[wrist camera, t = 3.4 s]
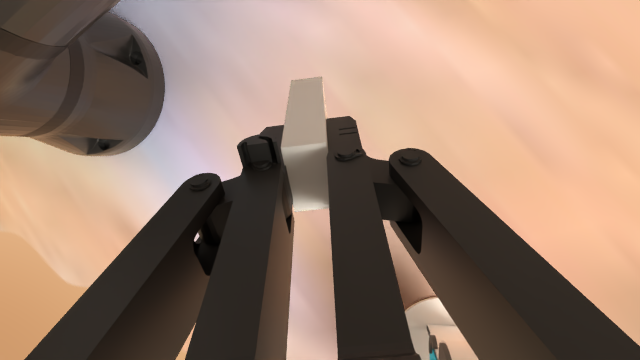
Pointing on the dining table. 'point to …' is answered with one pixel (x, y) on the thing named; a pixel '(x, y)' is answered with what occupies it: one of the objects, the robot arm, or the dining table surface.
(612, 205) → the dining table surface
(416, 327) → the white piece
